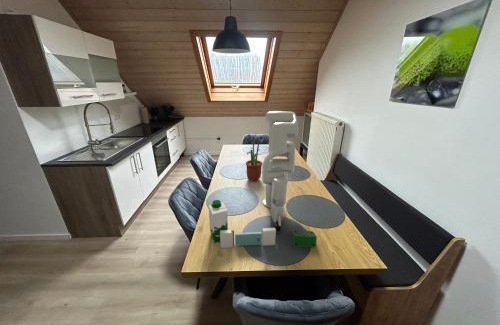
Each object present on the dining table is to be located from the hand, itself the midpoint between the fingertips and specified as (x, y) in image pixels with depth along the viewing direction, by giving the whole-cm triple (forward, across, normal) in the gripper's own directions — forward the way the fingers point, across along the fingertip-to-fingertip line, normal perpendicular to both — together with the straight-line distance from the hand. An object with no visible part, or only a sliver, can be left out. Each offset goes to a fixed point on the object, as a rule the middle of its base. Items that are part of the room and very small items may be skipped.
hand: (276, 227), depth 116 cm
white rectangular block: (+1, +10, -16) cm, 19 cm away
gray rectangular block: (+1, 0, 0) cm, 1 cm away
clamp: (+2, +10, +12) cm, 16 cm away
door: (+1, +11, -16) cm, 19 cm away
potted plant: (+2, -59, -4) cm, 59 cm away
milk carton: (+2, +3, -31) cm, 31 cm away
